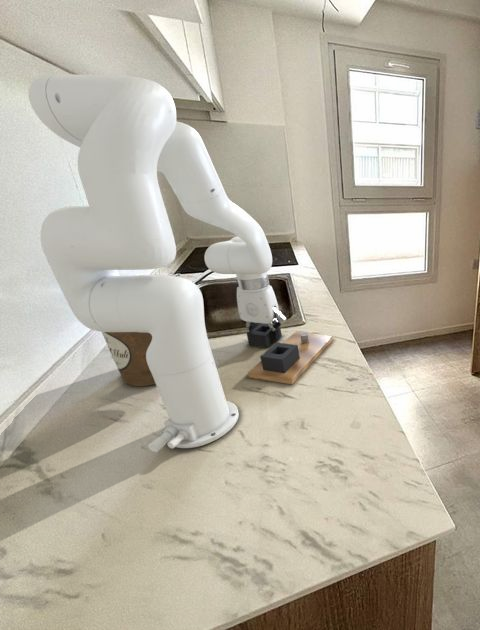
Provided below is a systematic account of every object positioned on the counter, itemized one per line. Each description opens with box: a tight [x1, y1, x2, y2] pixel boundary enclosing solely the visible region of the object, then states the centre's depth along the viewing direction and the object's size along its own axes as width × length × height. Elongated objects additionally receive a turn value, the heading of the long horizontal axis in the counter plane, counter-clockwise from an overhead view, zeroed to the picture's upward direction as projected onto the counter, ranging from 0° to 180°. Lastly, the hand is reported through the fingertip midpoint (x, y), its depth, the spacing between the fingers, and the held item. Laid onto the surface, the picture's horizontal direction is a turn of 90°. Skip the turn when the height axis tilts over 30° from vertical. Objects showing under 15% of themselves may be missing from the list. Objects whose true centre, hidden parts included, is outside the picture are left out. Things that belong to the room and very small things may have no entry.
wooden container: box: [101, 332, 156, 387], centre depth 80 cm, size 15×15×22 cm
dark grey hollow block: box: [246, 323, 283, 349], centre depth 97 cm, size 7×6×4 cm
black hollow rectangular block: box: [259, 342, 300, 373], centre depth 84 cm, size 7×6×4 cm
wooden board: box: [247, 331, 334, 385], centre depth 89 cm, size 22×12×4 cm, turn 168°
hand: (265, 339), depth 98 cm, fingers closed on dark grey hollow block, 6 cm apart
